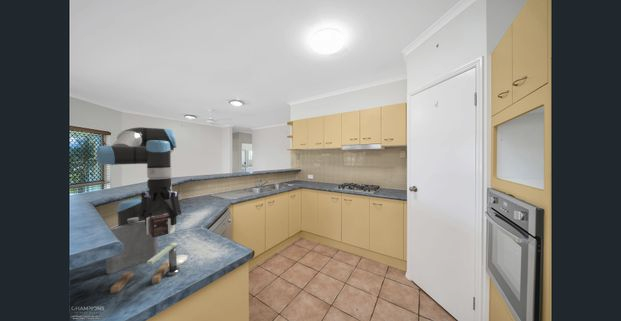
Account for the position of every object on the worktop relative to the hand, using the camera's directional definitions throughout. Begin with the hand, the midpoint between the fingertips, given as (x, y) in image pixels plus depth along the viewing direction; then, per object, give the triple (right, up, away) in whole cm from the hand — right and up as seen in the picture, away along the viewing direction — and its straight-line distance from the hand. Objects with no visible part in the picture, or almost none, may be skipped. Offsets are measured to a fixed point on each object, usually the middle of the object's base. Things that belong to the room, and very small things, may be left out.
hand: (161, 232), depth 74 cm
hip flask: (-15, -15, +4) cm, 22 cm away
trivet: (+2, -15, +5) cm, 16 cm away
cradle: (-2, -15, -7) cm, 16 cm away
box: (0, -1, 0) cm, 1 cm away
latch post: (+7, -15, -3) cm, 17 cm away
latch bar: (+8, -5, -8) cm, 12 cm away
